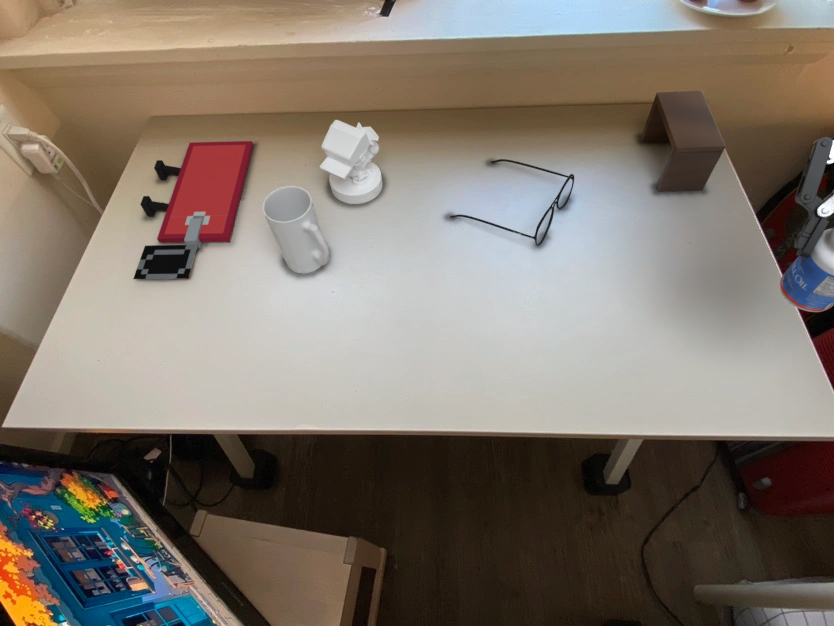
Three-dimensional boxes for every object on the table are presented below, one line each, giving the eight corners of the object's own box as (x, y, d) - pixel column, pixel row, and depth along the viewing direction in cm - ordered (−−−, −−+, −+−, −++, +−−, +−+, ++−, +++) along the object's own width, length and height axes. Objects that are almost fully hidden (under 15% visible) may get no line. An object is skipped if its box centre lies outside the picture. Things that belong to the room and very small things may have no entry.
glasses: (535, 253, 84) (536, 230, 80) (450, 225, 90) (447, 202, 86) (573, 192, 90) (576, 168, 86) (491, 169, 97) (490, 146, 92)
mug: (275, 259, 86) (252, 206, 76) (307, 233, 89) (289, 178, 79) (319, 294, 82) (300, 243, 72) (351, 266, 85) (338, 212, 75)
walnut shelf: (702, 190, 89) (725, 146, 82) (657, 192, 90) (677, 148, 82) (681, 135, 96) (701, 90, 89) (640, 137, 96) (656, 92, 89)
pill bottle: (773, 268, 60) (823, 205, 52) (828, 273, 59) (888, 210, 51) (782, 311, 57) (837, 252, 49) (840, 317, 56) (905, 257, 48)
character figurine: (392, 179, 94) (385, 120, 84) (358, 215, 90) (347, 158, 80) (351, 160, 97) (339, 102, 87) (316, 195, 93) (300, 138, 83)
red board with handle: (123, 283, 85) (221, 281, 84) (114, 271, 83) (215, 270, 82) (172, 149, 101) (254, 147, 101) (165, 136, 99) (249, 134, 98)
